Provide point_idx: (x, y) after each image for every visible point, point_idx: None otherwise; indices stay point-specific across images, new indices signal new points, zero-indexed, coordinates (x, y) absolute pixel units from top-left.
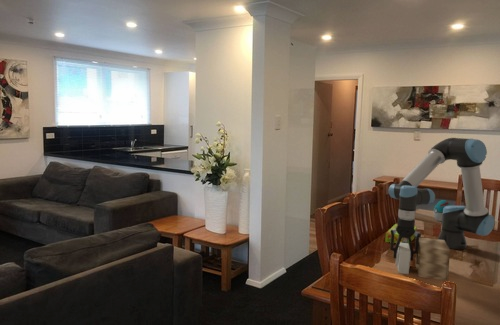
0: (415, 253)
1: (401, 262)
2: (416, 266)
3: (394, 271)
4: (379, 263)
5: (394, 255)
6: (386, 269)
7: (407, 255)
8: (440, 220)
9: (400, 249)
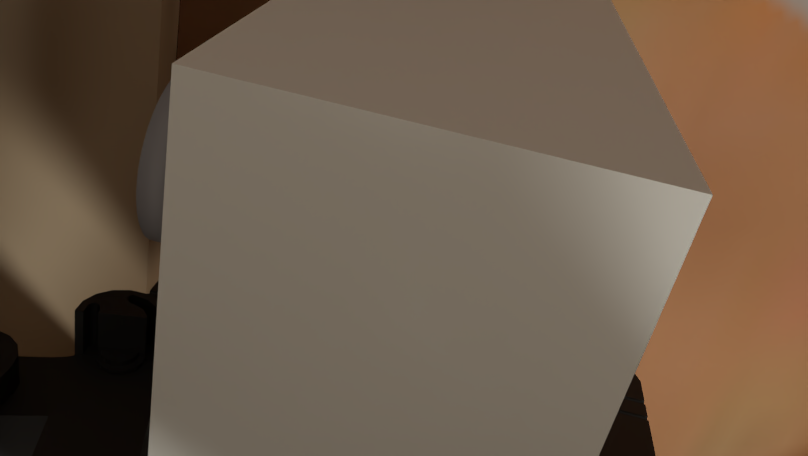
0: (26, 358)
1: (557, 20)
2: (148, 289)
3: (651, 59)
4: (787, 430)
5: (630, 410)
6: (788, 153)
7: (351, 43)
8: None
9: (618, 329)
